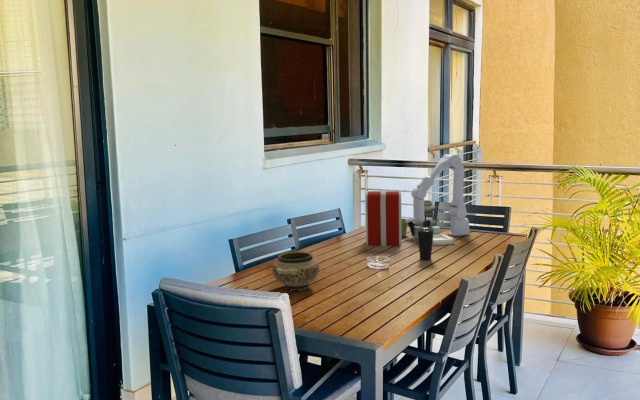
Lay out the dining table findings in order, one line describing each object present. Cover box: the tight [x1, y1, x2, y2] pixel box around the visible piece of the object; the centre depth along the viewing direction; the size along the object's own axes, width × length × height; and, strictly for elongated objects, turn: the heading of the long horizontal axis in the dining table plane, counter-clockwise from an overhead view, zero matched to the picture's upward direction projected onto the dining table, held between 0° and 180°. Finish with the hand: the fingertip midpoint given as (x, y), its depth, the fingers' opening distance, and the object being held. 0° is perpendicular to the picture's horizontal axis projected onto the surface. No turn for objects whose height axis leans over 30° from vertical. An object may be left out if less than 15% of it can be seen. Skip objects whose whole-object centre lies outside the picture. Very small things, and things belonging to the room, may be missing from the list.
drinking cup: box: [417, 216, 434, 261], centre depth 268 cm, size 8×8×20 cm
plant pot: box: [401, 218, 408, 237], centre depth 326 cm, size 9×9×9 cm
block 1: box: [413, 226, 422, 240], centre depth 317 cm, size 4×4×6 cm
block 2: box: [430, 225, 441, 234], centre depth 316 cm, size 4×4×6 cm
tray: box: [432, 233, 455, 247], centre depth 306 cm, size 12×15×2 cm
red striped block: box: [365, 190, 403, 247], centre depth 307 cm, size 17×18×27 cm
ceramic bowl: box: [272, 251, 320, 291], centre depth 228 cm, size 24×18×15 cm
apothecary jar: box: [413, 199, 437, 227], centre depth 330 cm, size 12×12×18 cm
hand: (419, 235), depth 318 cm, fingers open, 6 cm apart
